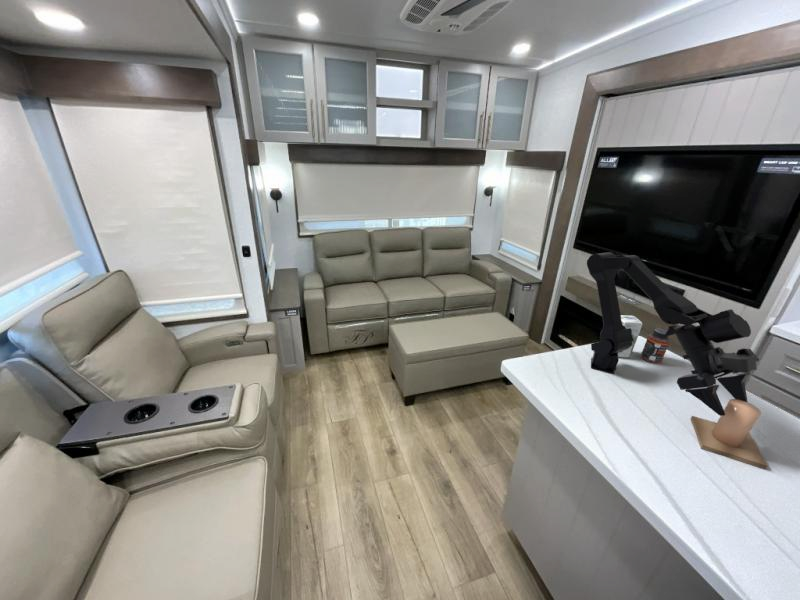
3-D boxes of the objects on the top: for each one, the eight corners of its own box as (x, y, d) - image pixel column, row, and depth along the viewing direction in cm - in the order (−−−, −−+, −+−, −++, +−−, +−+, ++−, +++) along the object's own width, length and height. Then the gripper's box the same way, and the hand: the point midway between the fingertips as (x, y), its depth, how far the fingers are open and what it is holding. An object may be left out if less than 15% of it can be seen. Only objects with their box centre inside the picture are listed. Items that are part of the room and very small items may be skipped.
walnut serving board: (700, 448, 75) (702, 444, 74) (690, 419, 83) (692, 415, 83) (765, 469, 69) (767, 465, 69) (746, 435, 78) (748, 432, 78)
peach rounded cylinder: (723, 445, 74) (742, 414, 70) (706, 429, 79) (723, 398, 74) (747, 448, 73) (768, 416, 69) (728, 430, 78) (746, 399, 74)
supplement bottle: (655, 365, 105) (667, 337, 101) (636, 357, 110) (647, 329, 106) (665, 361, 108) (676, 332, 103) (646, 352, 113) (656, 325, 108)
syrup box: (621, 349, 115) (633, 314, 109) (630, 358, 109) (643, 322, 103) (605, 348, 115) (615, 314, 109) (613, 357, 110) (625, 321, 104)
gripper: (712, 346, 68) (754, 419, 64) (759, 332, 74) (802, 398, 69) (661, 357, 78) (695, 421, 74) (707, 343, 84) (741, 401, 79)
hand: (734, 410), depth 74 cm, fingers open, 9 cm apart
